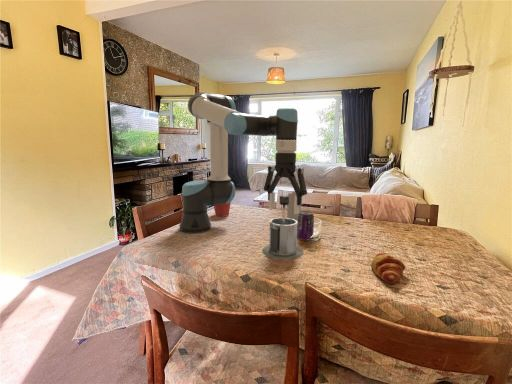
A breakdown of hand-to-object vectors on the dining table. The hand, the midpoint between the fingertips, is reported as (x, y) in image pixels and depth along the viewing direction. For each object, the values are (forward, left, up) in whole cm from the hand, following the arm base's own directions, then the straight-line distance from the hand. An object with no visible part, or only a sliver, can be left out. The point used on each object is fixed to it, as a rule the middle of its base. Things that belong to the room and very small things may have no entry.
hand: (283, 211), depth 107 cm
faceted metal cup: (0, 0, -16) cm, 16 cm away
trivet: (0, 0, -17) cm, 17 cm away
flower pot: (-57, +30, -17) cm, 67 cm away
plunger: (0, 0, -13) cm, 13 cm away
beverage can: (0, +21, -17) cm, 27 cm away
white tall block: (-17, +37, -17) cm, 44 cm away
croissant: (+37, +6, -17) cm, 41 cm away
